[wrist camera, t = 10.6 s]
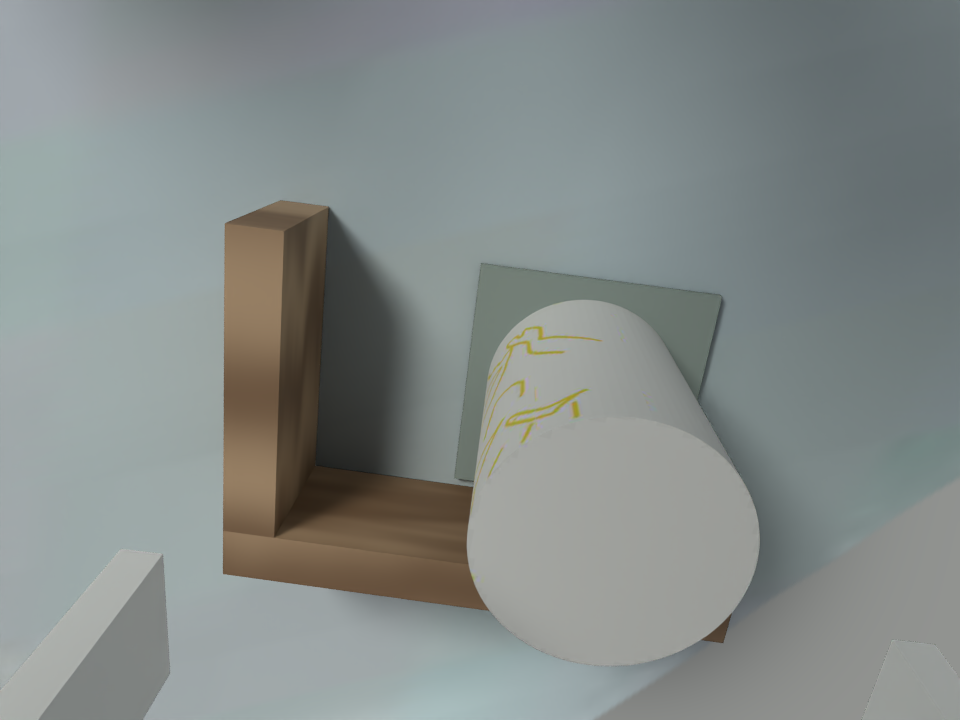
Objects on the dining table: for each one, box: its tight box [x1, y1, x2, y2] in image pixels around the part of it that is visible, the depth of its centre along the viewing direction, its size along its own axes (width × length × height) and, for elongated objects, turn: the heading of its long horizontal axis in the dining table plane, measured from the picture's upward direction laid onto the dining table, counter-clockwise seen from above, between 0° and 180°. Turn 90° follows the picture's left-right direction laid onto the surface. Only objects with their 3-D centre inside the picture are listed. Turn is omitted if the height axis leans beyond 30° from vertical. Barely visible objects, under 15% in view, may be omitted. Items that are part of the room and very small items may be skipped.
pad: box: [454, 263, 722, 481], centre depth 32 cm, size 10×10×1 cm
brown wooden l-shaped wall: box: [223, 200, 732, 643], centre depth 30 cm, size 14×20×6 cm
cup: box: [467, 300, 760, 666], centre depth 26 cm, size 8×8×12 cm
